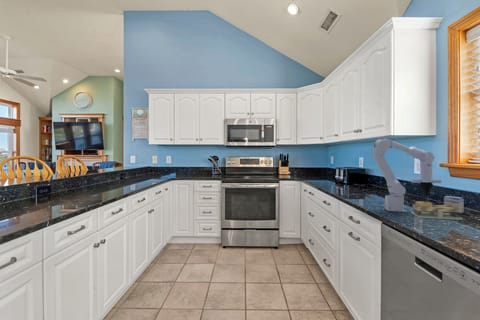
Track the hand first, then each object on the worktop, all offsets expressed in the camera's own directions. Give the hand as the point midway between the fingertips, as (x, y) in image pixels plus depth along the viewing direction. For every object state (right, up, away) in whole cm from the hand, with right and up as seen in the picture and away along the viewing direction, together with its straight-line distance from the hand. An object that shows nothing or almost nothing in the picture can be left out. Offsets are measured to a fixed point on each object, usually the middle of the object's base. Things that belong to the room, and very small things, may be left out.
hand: (426, 195), depth 148 cm
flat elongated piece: (-4, -6, -13) cm, 15 cm away
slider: (-10, -5, -11) cm, 16 cm away
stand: (-4, -10, -13) cm, 16 cm away
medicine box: (+14, -10, -3) cm, 17 cm away
